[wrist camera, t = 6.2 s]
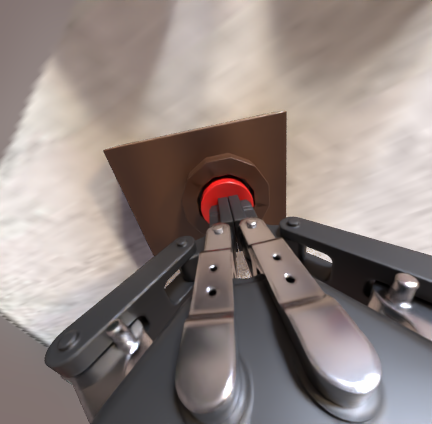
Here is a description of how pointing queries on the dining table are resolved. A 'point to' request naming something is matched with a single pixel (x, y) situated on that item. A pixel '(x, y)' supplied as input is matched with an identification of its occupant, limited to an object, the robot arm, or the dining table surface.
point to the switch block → (201, 174)
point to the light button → (222, 192)
